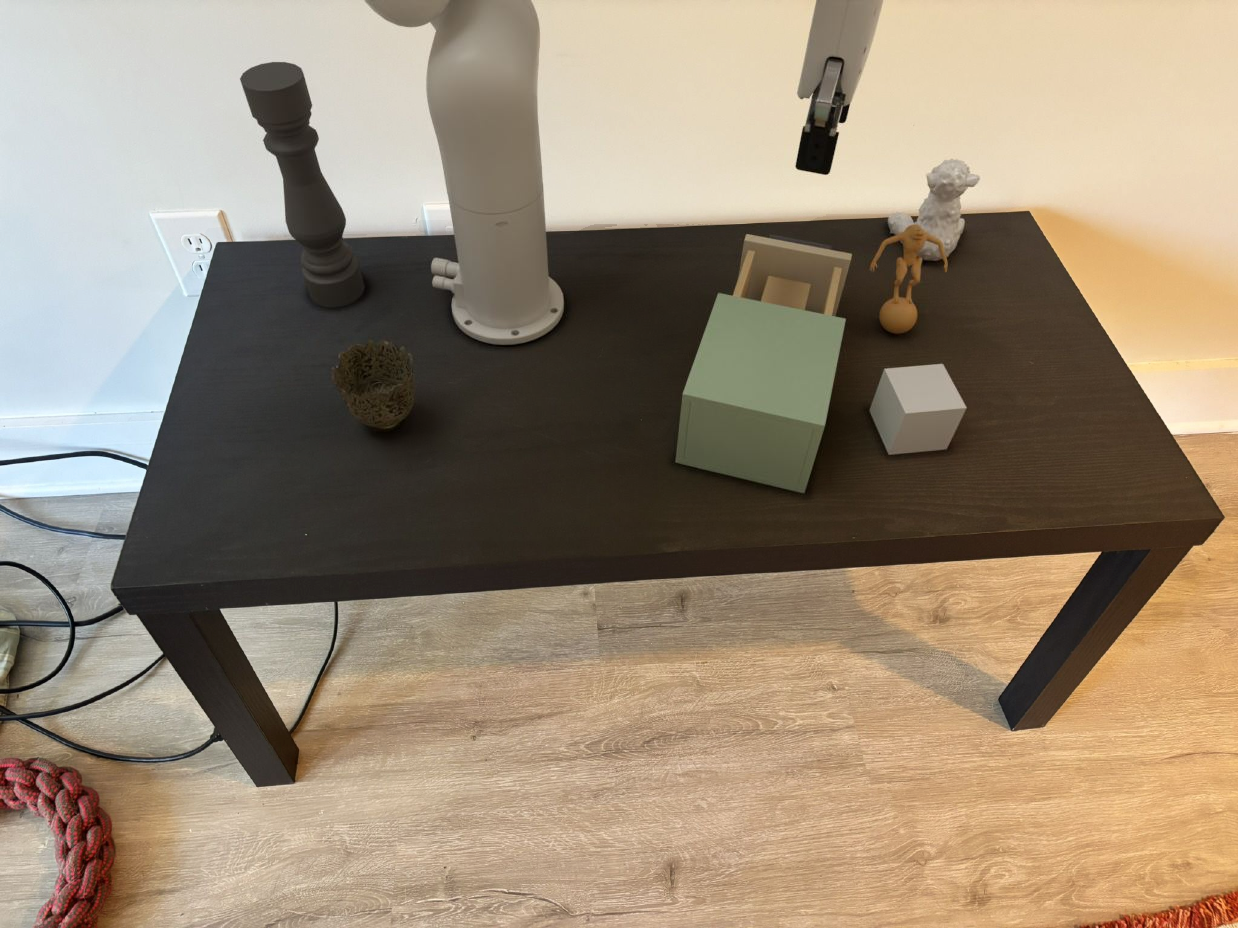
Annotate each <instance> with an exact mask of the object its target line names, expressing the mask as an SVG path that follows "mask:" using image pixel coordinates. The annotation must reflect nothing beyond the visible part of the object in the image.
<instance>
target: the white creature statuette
mask: <svg viewBox="0 0 1238 928" xmlns="http://www.w3.org/2000/svg"><path fill="white" fill-rule="evenodd" d="M925 176H926V181H927V187H928V188H929V193H928V195H927V197H926V198H924V200H923V202H922V204H920V207H919V209H918V217H917V219H916V221H915V222H914V219H913V218H912V217H911V216H910V215H908V214H906V213H905V212H899V211H896V212H892V213H891V214H890V215H889V216H888V218H887V225H888V228H889V230H890V231H889V234H893V236H896V235H897V234H899V233H901V232H904V231H905V229H906V228H907V227H908V226H910V225H919V226H920V227H921V228H922V229H923V231H925V232H927V233H929V234H930V235H931V236H933V237H936V238H937V239H939V240H940V241H941V242H942V243H943V249H944V252H945V254H946V257H947V258H949V256H950V254H951V253H952V252H953V251H954V250H955V249H956V248H957V245H958V242H959V240H960V238H961V235H962V234H963V232H964V228H965V224H966V221H965V219H964V218H962V217H961V216H962V212H961V209H962V205H961V204H962V203H961V196H963V195H964V193H965V192H967V190H968V188H973V187H975V186H976V185H978V183H979V182H980V180H981V176H980V175H978V174H974V173H971V171H970V166H969V165H968V164H967V163H965V161H964V160H959V159H953V158H950V159H944V160H943V161H942V163H940V164H939V165H938V166H937V165H936V166H935V167H933V168H932V170H931V172H928V173H926V175H925ZM899 242H900V244H902V245H903V241H899ZM919 257H921V258H922V261H928V262H937V261H940V260H943V259H942V257H941V254H940V250H939V246H938V245H937V244H934V243H931V242H929V241H925V244H924V246H923V248H922V249H921V250H920V252H919V253H918V254H917V257H916V259H917V258H919Z"/></svg>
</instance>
